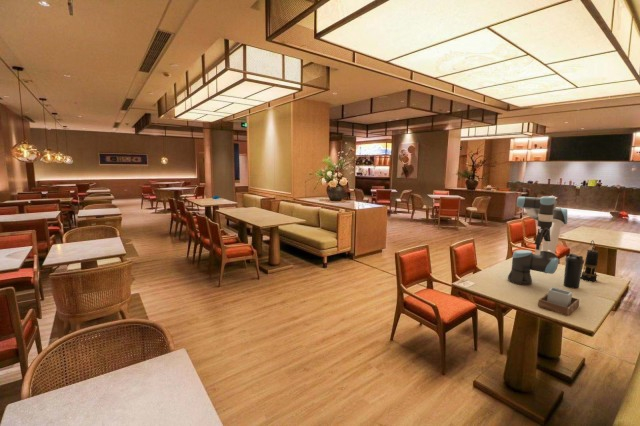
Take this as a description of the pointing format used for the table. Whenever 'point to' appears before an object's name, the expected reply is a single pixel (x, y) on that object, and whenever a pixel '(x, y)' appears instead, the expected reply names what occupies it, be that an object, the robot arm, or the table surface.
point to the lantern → (590, 265)
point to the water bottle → (573, 271)
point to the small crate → (559, 297)
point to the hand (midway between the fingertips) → (541, 252)
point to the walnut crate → (558, 308)
